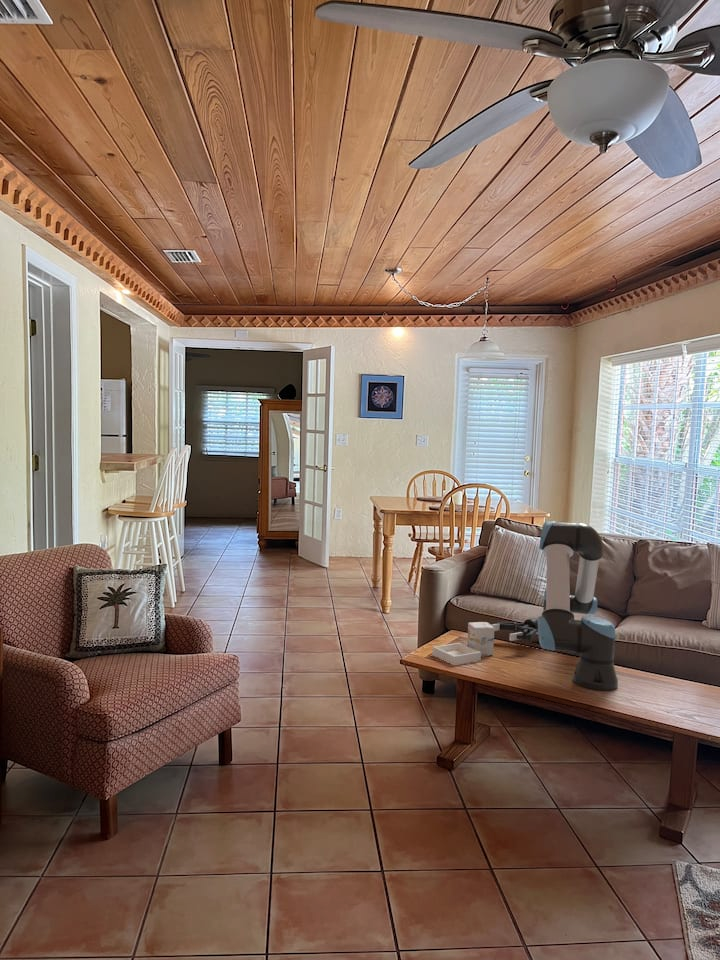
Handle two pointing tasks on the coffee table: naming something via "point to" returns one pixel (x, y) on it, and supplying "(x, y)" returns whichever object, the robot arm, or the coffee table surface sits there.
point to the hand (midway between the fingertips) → (498, 633)
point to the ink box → (481, 637)
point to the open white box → (456, 653)
